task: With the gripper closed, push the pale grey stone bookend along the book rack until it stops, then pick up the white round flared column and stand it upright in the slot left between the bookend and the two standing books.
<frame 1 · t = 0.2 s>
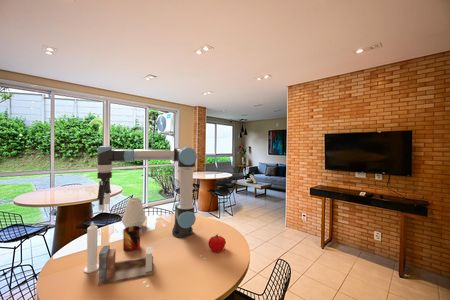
hand: (104, 206, 121), 28 cm above the table, fingers open, 13 cm apart
apple: (216, 250, 126), on the table
vase: (134, 228, 159), on the table
bookend: (149, 258, 105), point 6 cm above the table, slide at 0.0 cm
rack: (127, 273, 101), on the table
mug: (134, 248, 127), on the table
white round flared column: (92, 269, 105), on the table
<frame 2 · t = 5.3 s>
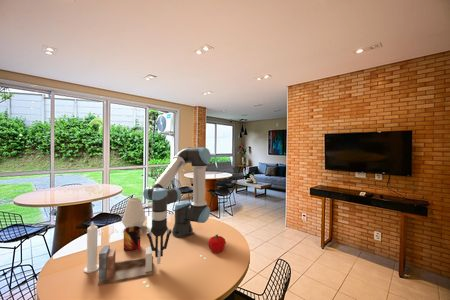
hand: (158, 262, 106), 3 cm above the table, fingers closed
bookend: (148, 258, 105), point 6 cm above the table, slide at 0.1 cm, touching gripper
everything else where it was.
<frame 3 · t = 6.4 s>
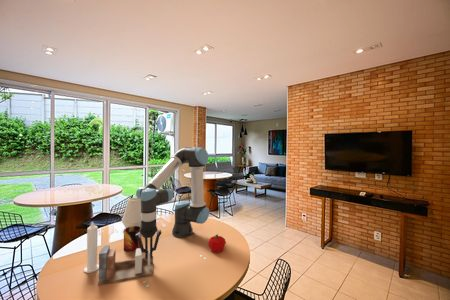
hand: (148, 264, 105), 3 cm above the table, fingers closed
bookend: (138, 260, 103), point 6 cm above the table, slide at 4.9 cm, touching gripper
everything else where it was.
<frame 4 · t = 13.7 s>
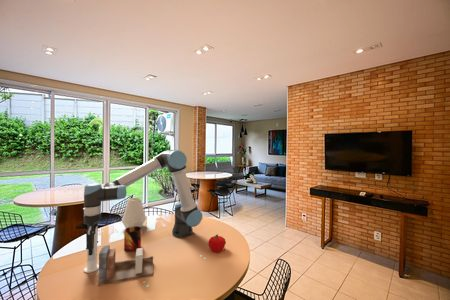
hand: (92, 258, 105), 6 cm above the table, fingers closed on white round flared column, 4 cm apart
bookend: (139, 260, 103), point 6 cm above the table, slide at 4.7 cm
white round flared column: (92, 269, 105), on the table, touching gripper
when the fingers open (8 cm above the table, at t = 20.3 s): white round flared column drops 1 cm, resting on rack.
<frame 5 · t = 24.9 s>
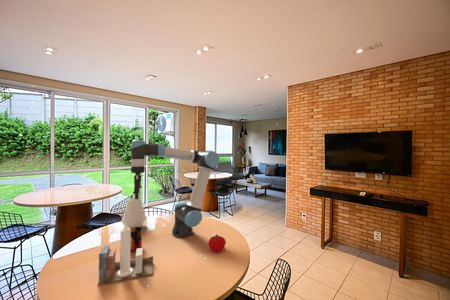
hand: (137, 201, 119), 32 cm above the table, fingers open, 13 cm apart
white round flared column: (125, 273, 100), point 1 cm above the table, touching rack
at the end: bookend slide at 4.7 cm; white round flared column inside the target area on the rack (0.8 cm from its centre), point 0.8 cm above the rack's base; white round flared column tilted 0° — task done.
